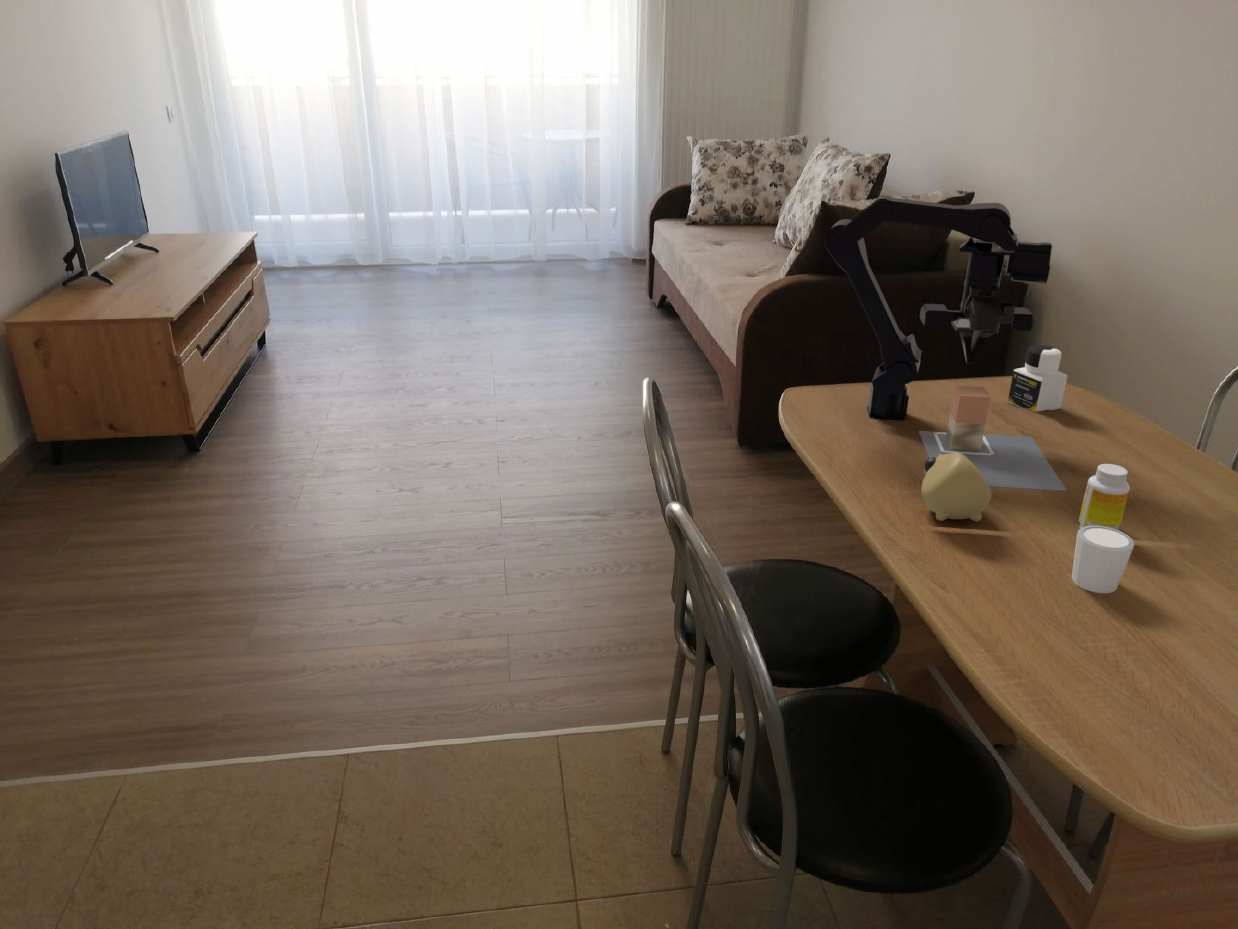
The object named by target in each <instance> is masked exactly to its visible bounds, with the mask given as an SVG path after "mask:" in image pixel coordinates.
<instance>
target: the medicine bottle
mask: <svg viewBox="0 0 1238 929" xmlns="http://www.w3.org/2000/svg"><path fill="white" fill-rule="evenodd" d="M1026 354H1027V355H1026V358H1025V364H1024V366H1023V367H1020V368H1019V367H1018V368H1015V369H1013V371H1012V377H1011V383H1010V388H1009V392H1008V397H1007V398H1008V399H1007V403H1009V404H1011V405H1013V406H1015V407H1017V408H1020V409H1022V408H1023V409H1028V410H1030V411H1032V412H1035V413H1036V412H1042V411H1047V410H1049V411H1050V412H1051V411H1055V410H1059V409H1061V408H1062V403H1063V398H1064V394H1065V389H1066V385H1067V381H1068V375H1067V374H1065V373H1063V372H1061V371H1059V368H1060V363H1061V358H1062V354H1063V352H1061V351H1060V349H1059V348H1056V347H1054V346H1051V345H1043V344H1038V345H1032V346H1030V347H1029V348H1028V349H1027V352H1026Z"/></svg>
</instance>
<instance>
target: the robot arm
mask: <svg viewBox="0 0 1238 929" xmlns="http://www.w3.org/2000/svg"><path fill="white" fill-rule="evenodd" d="M1011 217H1012V216H1011V214H1010V211H1009V209H1008V208H1007V206H1005V205H1004V204H1002V203H999V202H985V203H971V204H965V205H964V204H962V205H954V204H947V203H938V202H929V201H924V200H923V201H921V200H915V199H914V200H913V199H906V198H899V197H898V198H895V197H892V196H890V195H880V196H878V197H877V198H876V199H875V200H874V201H873V202H872V203H870V205H868V206H866V207H865V208H864V209H862V210H861V211H859V212H857V213H856V214H854V215H853V217H851V218H848V219H847V218H844V219H841V220H838V221H837V222H835V223H834V224H833V225H832V227H831V228H830V229H829V230H828V231H827V232H826V234H825V236H824V237H825V238H824V246H825V249H826V250H827V252H828V253H829V255H830V256H831V258H832V259H833V261H834V262H835V263H836V264H837V266H839V268H840V269H842V271H843V272H844V273H846V275H847V277H848V280H849V281H850V283H851V286H852V287H853V289H854V291H855V293H856V295H857V298H858V299H859V302H860V304H861V306H862V309H863V310H864V312H865V315H866V317H867V320H868V321H869V323H870V326H871V327H872V329H873V332H874V334H875V336H876V338H877V340H878V344H879V349H880V356H881V362H882V364H880V365H879V366H877V368H876V371H875V373H874V376H873V378H872V380H871V383H870V392H869V399H868V400H869V401H868V405H867V406H866V410H867V413H868V418H869V419H871V420H884V421H886V420H887V421H888V420H889V421H901V422H902V421H905V417H906V416H907V415H908V414H907V412H908V405H909V400H910V395H909V393H908V388H907V385H909V384H910V383H911V382H913V381H914V380H915V379H916V377H917V374H918V372H919V368H920V364H921V356H922V352H923V351H922V350H921V349H920V348H919V347H918V345H917V342H916V338H915V335H914V334H913V333H911V334H910V335H908V336H906V335H905V334H904V333H903V332H902V331H901V330H900V328H899V327H898V324H897V321H896V320H895V317H894V314H892V311H891V308H890V307H889V305H888V302H887V301H886V298H885V296H884V293H883V291H882V290H881V287H880V285H879V283H878V280H877V279H876V277H875V275H874V273H873V271H872V268H871V265H870V264H869V260H868V254H867V247H866V242H865V239H864V237H866V236H867V235H869V234H870V233H871V232H872V231H874V230H875V229H876V228H877V227H878V226H880V225H881V224H882V223H883V222H892V223H900V224H906V225H912V226H913V225H915V226H922V227H930V228H937V229H944V230H950V231H955V232H958V233H961V234H962V235H965V236H967V237H969V238H968V239H967V240H965V241H964V242H963V243H961V244H960V246H959V252H961V253H969V256H968V262H967V269H966V275H965V279H964V282H963V285H964V287H963V294H962V300H961V302H960V310H951V309H950V310H949V309H948V308H947V307H946V305H945V304H943V303H942V304H941V303H939V304H937V303H925V304H923V306H921V308H920V314H919V319H920V321H921V323H922V324H923V326H925V327H927V328H928V327H929V328H943V327H945V326H946V325H948V323H949V322H951V326H952V327H953V329H954V330H955V332H957V333H959V336H960V338H961V344H962V350H963V354H964V358H965V362H966V364H972V363H973V362H974V360H975V358H976V357H977V355H978V353H979V351H980V349H981V348H982V346H983V345H984V343H985V342H986V341H987V339H988V338H990V337H991V336H992V335H994V334H995V335H997V334H999V332H1000V330H999V329H1000V327H1001V324H1008V325H1009V324H1010V326H1012V328H1013V329H1014V330H1015V331H1025V332H1032V331H1034V328H1035V322H1036V317H1035V316H1034V314H1033V313H1032V312H1031V311H1030V310H1029V309H1028V308H1027V307H1020V306H1019V307H1018V306H1017V307H1016V304H1015V301H1001V299H1000V294H1001V293H1000V292H1001V288H1000V284H1001V278H1002V272H1003V268H1004V262H1005V257H1006V256H1008V258H1007V263H1006V270H1005V275H1007V276H1008V275H1009V278H1011V281H1012V282H1020V283H1023V282H1024V283H1034V284H1043V285H1046V284H1047V282H1048V279H1049V275H1050V271H1051V270H1050V269H1051V263H1050V262H1051V255H1052V249H1053V244H1052V243H1051V242H1046V241H1045V242H1029V241H1028V242H1027V241H1019V238H1018V234H1015V232H1014V230H1013V228H1012V227H1011V222H1012V220H1011V219H1012V218H1011ZM976 240H979V241H976ZM993 243H994V244H996V245H997V246H998V247H995V246H994V247H993Z"/></svg>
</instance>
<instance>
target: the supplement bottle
mask: <svg viewBox="0 0 1238 929" xmlns="http://www.w3.org/2000/svg"><path fill="white" fill-rule="evenodd" d="M1128 474H1129V472H1128V470H1127V469H1126V468H1125V467H1123V466H1121V465H1117V464H1113V463H1101V464H1099V465H1098V466H1097V469H1096V473H1095V474H1094V475H1092V476H1090V477H1089V479H1087V480H1088V481H1087V484H1086V487H1085V491H1084V492H1085V493H1084V496H1083V500H1082V505H1081V508H1080V513H1079V518H1078V523H1077V527H1079V529H1080V528H1082V527H1085V526H1104V527H1109V528H1113V529H1116V530H1119V531H1120V529H1121V525H1122V521H1123V517H1124V514H1125V510H1126V506H1127V502H1128V498H1129V494H1130V491H1131V485H1130V484H1129V483H1128V482H1127V479H1128V478H1127V477H1128Z"/></svg>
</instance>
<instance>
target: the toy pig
mask: <svg viewBox="0 0 1238 929" xmlns="http://www.w3.org/2000/svg"><path fill="white" fill-rule="evenodd" d="M923 465H924V469H923V474H924V475H923V476H924V478H923V480H922V483H921V489H920V490H921V496H922V498H923V500H924V501H923V502H924V503H925V504H926V507H928V510H929V511H930V512H933V513H934V514H935V518H936V520H938V521H940V522H943V521H946V520H947V519H950V520H965V519H970V520H972V521H973V522H980V521H981V520H982V517H983V515H982V512H983V511H984V510H985V509H986V508H987V506H988V505H989V503H990V501H991V498H992V493H993V492H992V489H991V487H990V486H989V485H988V483H987V481H986V480H985V478H984V477H983V475H982V474H981V473H980V471H979V470H978V469H977V468H976V466H975V465H974V464H973V463H972V461H971V460H970V459H969V458H967V457H966V456H964V455H963V454H961V453H959V452H955V453H951V454H944V455H942V454H939V455H938V457H937V458H935V457H932V458H929V457H928V458H927V459H926V460H925V462H924V464H923Z"/></svg>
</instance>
